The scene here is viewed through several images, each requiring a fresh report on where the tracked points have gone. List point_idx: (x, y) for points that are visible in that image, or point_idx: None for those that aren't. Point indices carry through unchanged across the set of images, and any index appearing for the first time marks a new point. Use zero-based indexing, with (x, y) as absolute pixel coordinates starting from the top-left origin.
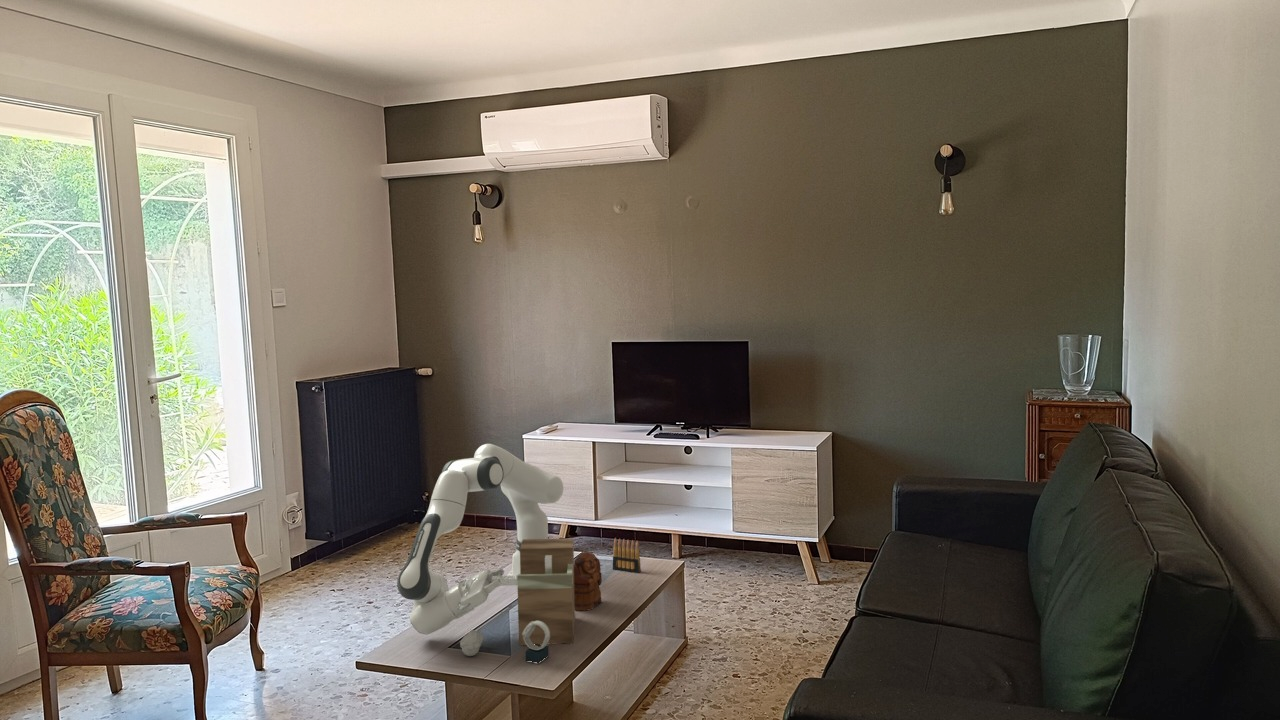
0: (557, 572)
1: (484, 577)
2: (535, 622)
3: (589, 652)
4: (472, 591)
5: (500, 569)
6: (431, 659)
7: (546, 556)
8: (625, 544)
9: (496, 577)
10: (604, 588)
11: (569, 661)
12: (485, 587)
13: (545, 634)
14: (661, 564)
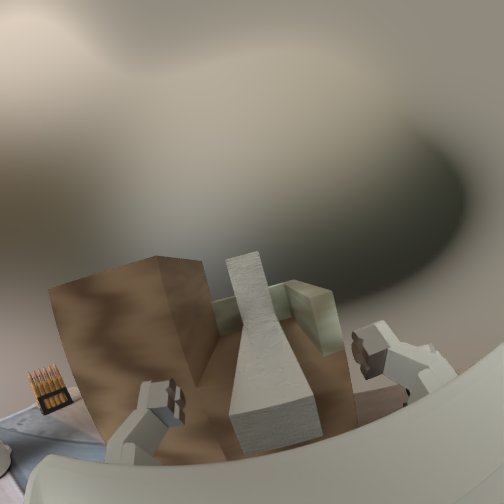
0: (213, 331)
1: (211, 472)
2: (427, 348)
3: (358, 393)
4: (496, 452)
5: (164, 380)
6: None
7: (238, 256)
8: (42, 375)
9: (267, 390)
10: (90, 425)
11: (405, 392)
12: (450, 365)
13: None
14: (69, 392)
